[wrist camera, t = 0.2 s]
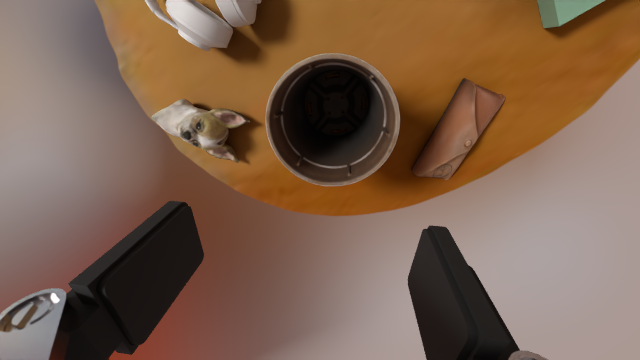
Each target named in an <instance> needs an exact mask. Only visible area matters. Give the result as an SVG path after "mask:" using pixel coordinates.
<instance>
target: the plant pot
mask: <svg viewBox="0 0 640 360" xmlns="http://www.w3.org/2000/svg"><path fill="white" fill-rule="evenodd" d="M330 74H340V77H333V78H329V79H326V78H325V77H326V76H327V75H330ZM361 95H363V96H364V100H365V108H364V109H361V106H362V102H361V101H362V100H361ZM341 96H344V99H341V98H340V97H341ZM327 97H329V98H330V100H329V101H327V100H326V98H327ZM308 101H310V103H311V110H312V115H310V114H309V111H308ZM342 110H345V113H344V114H342V113H341V111H342ZM329 111H330V112H331V115H328V112H329ZM265 121H266V131H267V135H268V139H269V142H270V144H271V147H272V149H273V151H274V153H275V154H276V156H277V157H278V159H279V160H280V161H281V163H282V164H283V165H284V166H285V167H286V168H287V169H288V170H289V171H290V172H292V173H293V174H294V175H296V176H297V177H299V178H301V179H303V180H305V181H307V182H310V183H313V184H317V185H322V186H342V185H348V184H352V183H355V182H358V181H360V180H362V179H364V178H366V177H368V176H370V175H371V174H373V173H374V172H375V171H376V170H378V169H379V168H380V167H381V166H382V165H383V164H384V162H385V161H386V160H387V159H388V157H389V156H390V154H391V152H392V151H393V149H394V146H395V144H396V141H397V138H398V135H399V128H400V112H399V106H398V102H397V99H396V96H395V94H394V92H393V90H392V88H391V86H390V84H389V83H388V81H387V80H386V79H385V78H384V76H383V75H382V74H381V73H380V72H379V71H378V70H377V69H375V68H374V67H373V66H371V65H370V64H368V63H367V62H365V61H363V60H361V59H359V58H356V57H353V56H350V55H346V54H340V53H327V54H320V55H316V56H312V57H309V58H307V59H304V60H302V61H300V62H298V63H297V64H295V65H294V66H292V67H291V68H290V69H289V70H288V71H287V72H285V73H284V75H283V76H282V77H281V78H280V79H279V81H278V82H277V84H276V85H275V87H274V88H273V90H272V93H271V95H270V98H269V100H268V104H267V109H266V120H265ZM340 129H345V131H344V132H339V133H333V132H332V130H340Z"/></svg>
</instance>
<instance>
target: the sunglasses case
mask: <svg viewBox="0 0 640 360" xmlns="http://www.w3.org/2000/svg"><path fill="white" fill-rule="evenodd" d="M504 100H505V96H504V95H503V94H497V93H495V92H492V91H490V90H488V89H485V88H483V87H481V86H478V85H475V84H474V83H473V82H471V81H469V80H467V79H463V80H462V82H461V83H460V85H459V87H458V88H457V90H456V92H455V94H454V96H453V98H452V100H451V102H450V103H449V105H448V107H447V109H446V110H445V112H444V114H443V116H442V118H441V119H440V121H439V123H438V125H437V127H436V128H435V130H434V132H433V134H432V135H431V137H430V139H429V141H428V142H427V144H426V146H425V148H424V149H423V151H422V153H421V155H420V156H419V158H418V159H417V161H416V163H415V165H414V166H413V168H412V173H413V174H414V175H416V176H419V177H422V176H423V177H433V178H442V179H446V180H448V179H450V178H451V176H452V175H453V174H454V172H455V171H456V170H457V168H458V167H459V165H460V164H461V162H462V161H463V159H464V158H465V157H466V155H467V154H468V152H469V151H470V149H471V148H472V146H473V145H474V144H475V142H476V141H477V139H478V138H479V136H480V135H481V133H482V132H483V130H484V129H485V128H486V126H487V125H488V123H489V122H490V121H491V119H492V118H493V116H494V115H495V114H496V112H497V111H498V109H499V108H500V106H501V105H502V104H503V102H504Z"/></svg>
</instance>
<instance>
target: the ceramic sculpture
mask: <svg viewBox="0 0 640 360" xmlns="http://www.w3.org/2000/svg"><path fill="white" fill-rule="evenodd" d="M152 119H153V120H155V121H156V122H157V123H158V124H159V125H160V126H161V127H162V129H164V130H165V131H167V132H168V133H169V134H172V135H174V136H176V137H181V138H182V140H184V141H186V142H188V143H189V144H191V145H193V146H196V147H198V148H201V149H203V150H206V152H207V153H208V154H210V155H212V156H215V157H216V158H220V159H221V158H223V159H227V160H233V161H235V162H239V160H238V158H237V156H236V154H235V152H234V150H233V148H232V147H231V146H230V145H227V144H224V142H225V141H226V140H227V138H228V131H229V130H228V128H238V127H240V126H242V125H243V124H245V123H250V121H249V120H248V119H247V118H245V117H244V116H243V115H241V114H240V113H237V112H235V111H233V110H229V109H222V108H217V109H213V110H211V111H207V110H204V109H198V108H196V107H194V106H193V105H192V104H191V103H190V102H189V101H188V100H186V99H180V100H178V101H177V102H175V103H173V104H172V105H170V106H168V107H167V108H164V109H162V110H160V111H159V112H157V113H156V114H154V115H153V116H152Z"/></svg>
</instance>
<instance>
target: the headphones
mask: <svg viewBox="0 0 640 360" xmlns="http://www.w3.org/2000/svg"><path fill="white" fill-rule="evenodd" d="M215 1H216V3H217V6H218V7H219V9H220V11H221V13H222V15H223V16H224V18H225V19H226V20H227V22H228V23H229V24H230V25H232V26H233V27H242V26H246V25H250V24H253V23H254V22H255V19H256V10H257V4H259V3H261V1H262V0H215ZM145 2H146V3H147V5H148V7H149V8H150V9H151V10H152V12H153V13H154V14H155V15H157V16H158V17H159V18H160V19H161V20H163V21H165V22H167V23H168V24H170V25H171V26H173V27H174V28H176V29H177V30H178V33H179V34H180V35H181V36H182V37H183V38H184V39H186V40H187V41H189V42H190V43H192V44H193V45H195V46H197V47H199V48H201V49H203V50H206V51H209V50H210V48H211V47H217V48H227V46H228V43H229V41H230V39H231V36H232V34H233V28H232V27H231V26H230V25H229V24H228V23H227V22H226V21H224V20H223V19H222V18H220V17H219V16H218V15H216V14H215V13H214V12H212V11H211V10H209V9H208V8H206V7H205V6H204V5H202V4H201V3H199V2H197V1H196V0H167V1H166V6H167V12H168V13H169V15H170V16H171V17H172V19H173V20H174V21H172V20H171V19H169V18H168V17H167V16H166V15H165V14H164V13H163V11H162V10H161V8H160V7H159V5H158V3H157V1H156V0H145Z"/></svg>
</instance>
